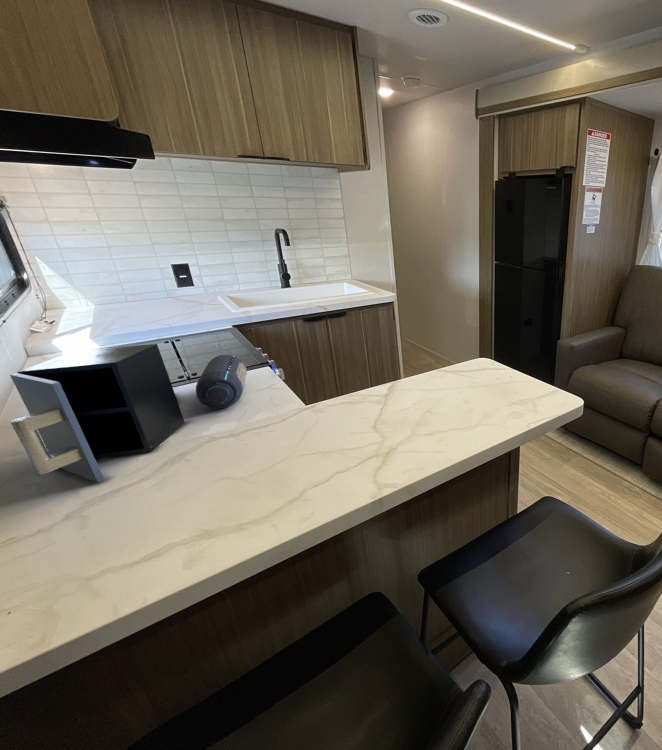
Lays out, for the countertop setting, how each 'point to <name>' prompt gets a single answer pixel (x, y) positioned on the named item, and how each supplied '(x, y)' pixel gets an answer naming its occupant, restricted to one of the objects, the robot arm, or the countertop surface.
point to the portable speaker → (221, 382)
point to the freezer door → (52, 429)
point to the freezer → (117, 397)
